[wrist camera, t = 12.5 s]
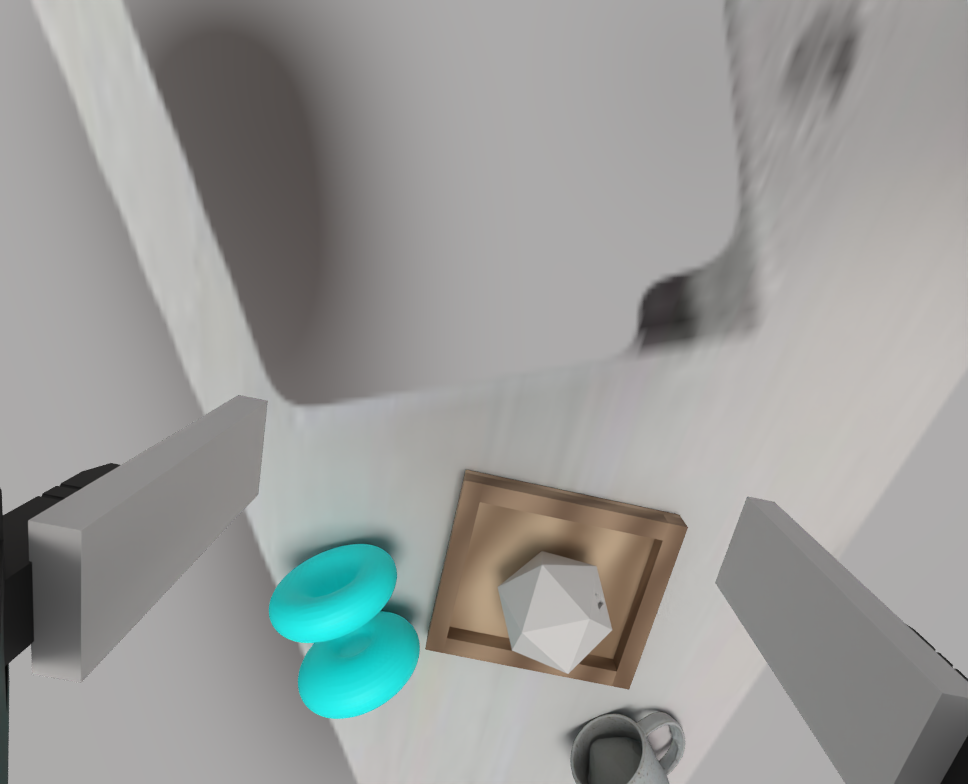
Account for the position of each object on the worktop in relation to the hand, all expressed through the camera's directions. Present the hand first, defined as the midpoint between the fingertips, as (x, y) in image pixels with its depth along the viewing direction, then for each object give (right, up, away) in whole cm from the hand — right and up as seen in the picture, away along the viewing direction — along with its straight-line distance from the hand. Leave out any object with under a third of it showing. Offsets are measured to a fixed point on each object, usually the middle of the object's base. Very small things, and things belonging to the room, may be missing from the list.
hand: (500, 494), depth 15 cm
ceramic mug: (+13, -31, +38) cm, 51 cm away
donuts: (-11, -15, +34) cm, 39 cm away
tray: (+5, -13, +33) cm, 36 cm away
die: (+5, -14, +33) cm, 36 cm away
